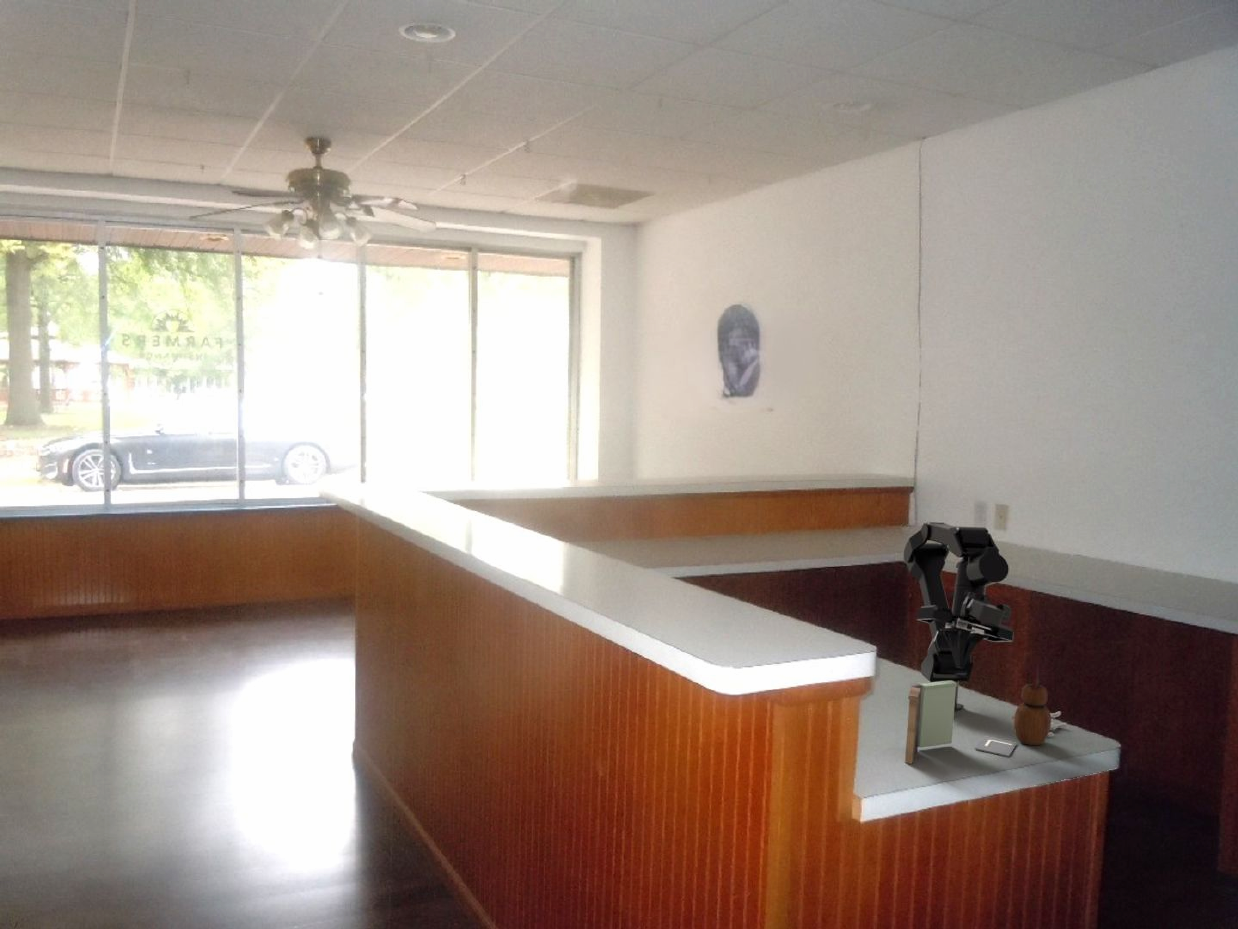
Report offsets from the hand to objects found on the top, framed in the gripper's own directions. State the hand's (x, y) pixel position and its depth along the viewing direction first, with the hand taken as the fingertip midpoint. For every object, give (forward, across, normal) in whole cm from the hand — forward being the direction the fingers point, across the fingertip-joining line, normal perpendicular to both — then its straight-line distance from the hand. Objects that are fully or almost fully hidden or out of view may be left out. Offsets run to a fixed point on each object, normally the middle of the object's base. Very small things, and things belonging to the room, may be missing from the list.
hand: (959, 667), depth 194 cm
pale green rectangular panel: (+15, -5, -1) cm, 16 cm away
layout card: (+13, +8, -4) cm, 16 cm away
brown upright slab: (+19, -11, -4) cm, 22 cm away
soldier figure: (+8, +22, +2) cm, 23 cm away
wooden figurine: (+11, +16, -3) cm, 19 cm away
